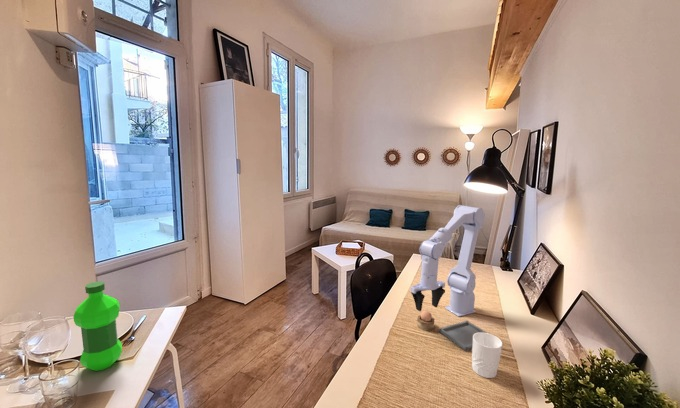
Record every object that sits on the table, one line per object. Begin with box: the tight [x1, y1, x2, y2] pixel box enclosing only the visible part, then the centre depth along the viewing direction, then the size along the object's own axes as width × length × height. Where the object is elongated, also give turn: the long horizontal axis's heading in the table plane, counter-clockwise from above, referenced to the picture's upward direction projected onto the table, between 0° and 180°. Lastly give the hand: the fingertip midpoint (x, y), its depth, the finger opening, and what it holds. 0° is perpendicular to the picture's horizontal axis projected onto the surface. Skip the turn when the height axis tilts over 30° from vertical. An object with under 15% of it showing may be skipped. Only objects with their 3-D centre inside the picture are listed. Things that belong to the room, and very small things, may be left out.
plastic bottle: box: [73, 280, 123, 372], centre depth 87 cm, size 10×10×25 cm
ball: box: [420, 310, 433, 322], centre depth 113 cm, size 4×4×4 cm
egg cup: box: [416, 314, 435, 332], centre depth 114 cm, size 6×6×3 cm
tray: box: [438, 320, 488, 352], centre depth 108 cm, size 14×12×1 cm
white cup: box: [471, 332, 503, 379], centre depth 90 cm, size 8×8×10 cm
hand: (426, 308), depth 113 cm, fingers open, 7 cm apart
